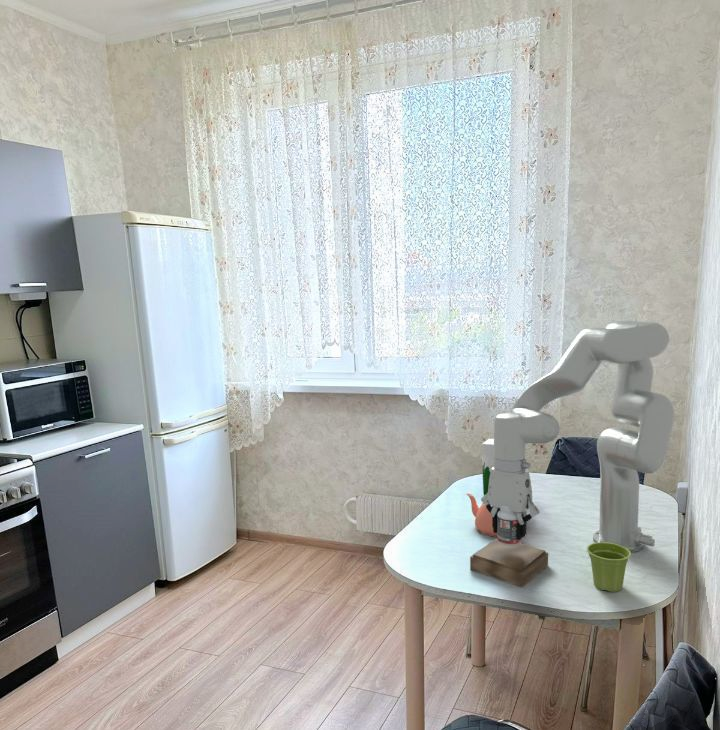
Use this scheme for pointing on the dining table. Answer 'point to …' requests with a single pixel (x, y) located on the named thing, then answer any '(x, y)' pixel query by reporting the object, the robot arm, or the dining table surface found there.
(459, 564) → the dining table surface
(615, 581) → the plant pot
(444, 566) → the dining table surface
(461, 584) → the dining table surface
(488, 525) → the teapot
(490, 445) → the milk carton
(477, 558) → the walnut base
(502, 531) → the pill bottle
